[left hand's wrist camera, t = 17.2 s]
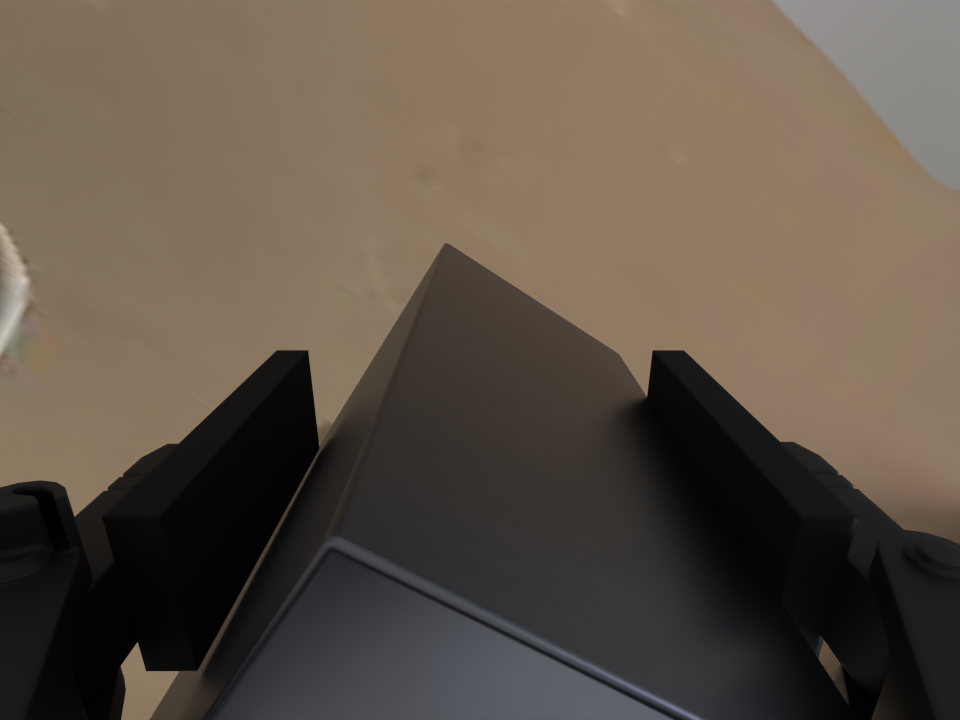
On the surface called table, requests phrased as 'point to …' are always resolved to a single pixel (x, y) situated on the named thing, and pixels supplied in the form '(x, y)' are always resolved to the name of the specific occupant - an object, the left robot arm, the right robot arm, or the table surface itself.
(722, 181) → the table surface
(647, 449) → the box
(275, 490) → the left robot arm
